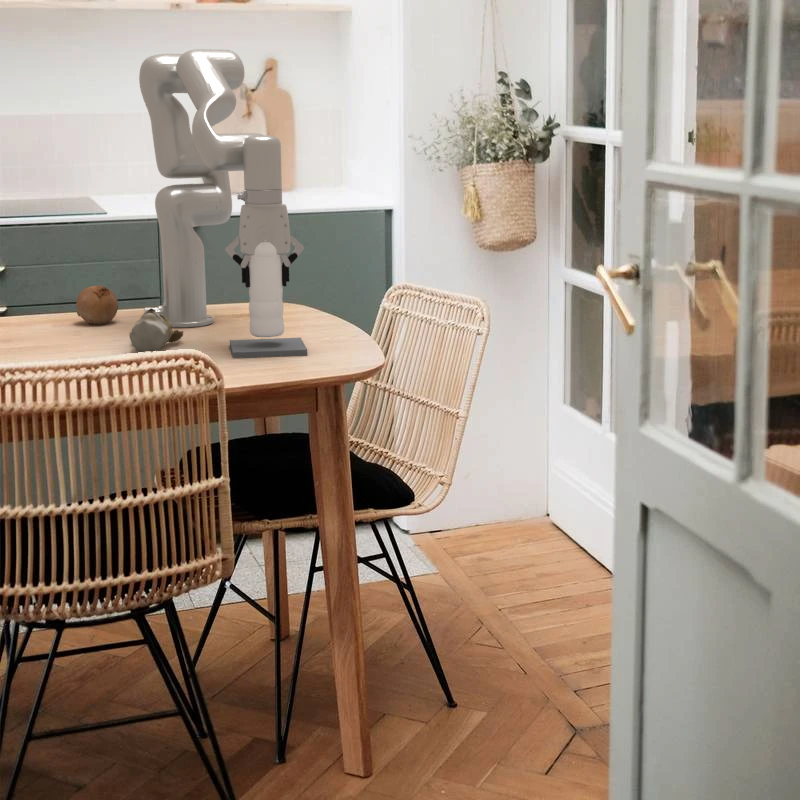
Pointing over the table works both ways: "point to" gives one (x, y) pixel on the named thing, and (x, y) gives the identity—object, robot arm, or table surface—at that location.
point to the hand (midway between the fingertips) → (265, 285)
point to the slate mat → (267, 347)
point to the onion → (97, 305)
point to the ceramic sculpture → (153, 332)
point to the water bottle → (266, 292)
